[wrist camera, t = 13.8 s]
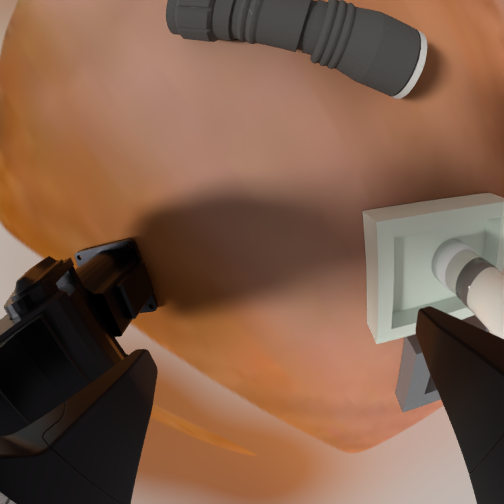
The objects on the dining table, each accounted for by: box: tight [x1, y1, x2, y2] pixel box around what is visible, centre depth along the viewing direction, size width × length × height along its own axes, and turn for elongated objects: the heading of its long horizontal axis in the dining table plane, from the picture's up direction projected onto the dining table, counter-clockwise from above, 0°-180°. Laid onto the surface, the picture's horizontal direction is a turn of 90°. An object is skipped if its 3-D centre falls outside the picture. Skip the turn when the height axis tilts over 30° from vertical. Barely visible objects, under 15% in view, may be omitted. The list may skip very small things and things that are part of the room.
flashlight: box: [166, 0, 427, 99], centre depth 13 cm, size 15×5×5 cm, turn 75°
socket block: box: [395, 315, 489, 412], centre depth 23 cm, size 9×9×3 cm
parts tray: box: [362, 193, 504, 344], centre depth 19 cm, size 13×10×3 cm
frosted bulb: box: [432, 238, 504, 339], centre depth 14 cm, size 4×4×13 cm
